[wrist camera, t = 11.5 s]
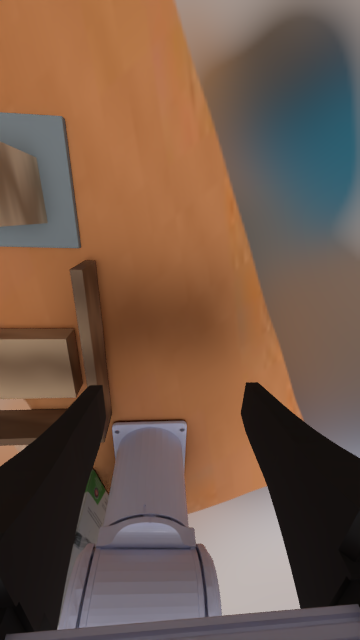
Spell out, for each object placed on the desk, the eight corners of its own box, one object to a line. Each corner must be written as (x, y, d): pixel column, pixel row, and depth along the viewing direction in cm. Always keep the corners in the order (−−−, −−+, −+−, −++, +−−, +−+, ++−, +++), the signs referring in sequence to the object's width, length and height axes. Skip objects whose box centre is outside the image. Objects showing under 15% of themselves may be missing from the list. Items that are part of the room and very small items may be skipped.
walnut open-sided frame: (111, 413, 26) (104, 442, 22) (-28, 417, 25) (-57, 447, 21) (95, 260, 19) (82, 269, 16) (-94, 256, 18) (-149, 265, 15)
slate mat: (81, 247, 19) (78, 248, 18) (-28, 244, 18) (-33, 245, 18) (64, 119, 16) (61, 116, 15) (-68, 111, 15) (-76, 107, 15)
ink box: (54, 474, 29) (-11, 631, 18) (94, 466, 29) (53, 619, 18) (81, 515, 32) (41, 668, 22) (117, 508, 32) (94, 658, 21)
